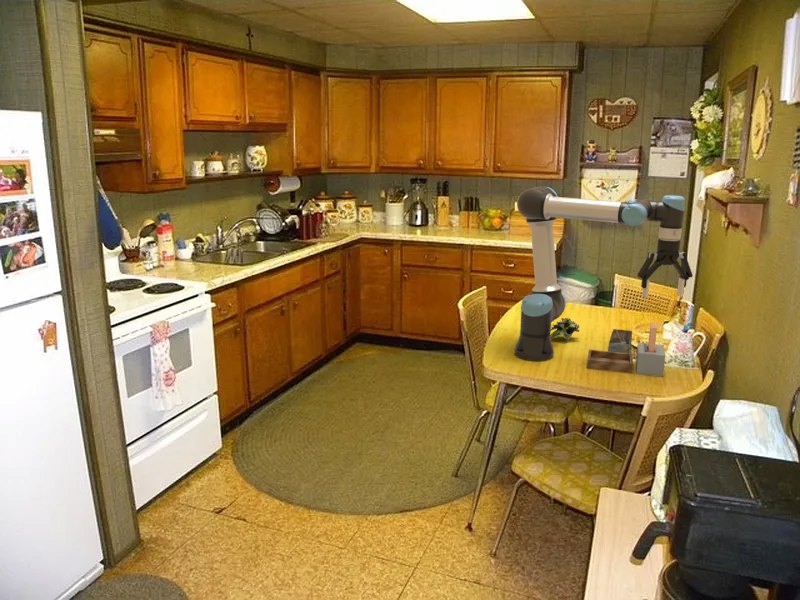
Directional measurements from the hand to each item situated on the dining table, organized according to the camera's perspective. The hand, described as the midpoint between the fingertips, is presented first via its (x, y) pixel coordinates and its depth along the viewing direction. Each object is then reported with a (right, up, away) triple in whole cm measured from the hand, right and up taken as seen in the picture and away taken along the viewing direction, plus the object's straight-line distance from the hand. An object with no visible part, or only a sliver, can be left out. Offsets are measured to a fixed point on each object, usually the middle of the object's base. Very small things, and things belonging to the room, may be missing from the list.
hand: (662, 296), depth 238 cm
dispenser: (-4, -27, +1) cm, 28 cm away
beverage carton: (-8, -22, +23) cm, 33 cm away
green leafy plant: (-27, -19, +35) cm, 48 cm away
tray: (-18, -26, +6) cm, 32 cm away
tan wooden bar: (-4, -25, +1) cm, 26 cm away
